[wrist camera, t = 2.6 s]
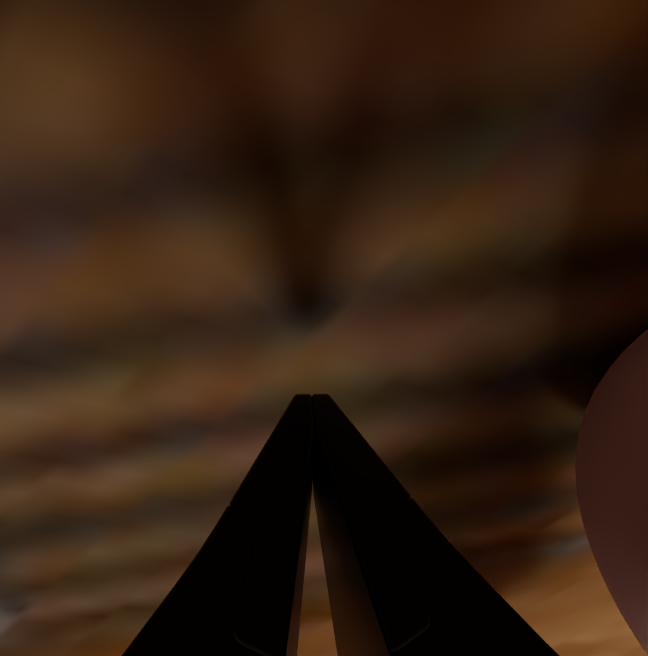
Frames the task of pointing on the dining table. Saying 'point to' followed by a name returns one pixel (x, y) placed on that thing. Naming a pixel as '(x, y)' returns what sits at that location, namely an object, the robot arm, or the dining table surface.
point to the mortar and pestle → (619, 482)
